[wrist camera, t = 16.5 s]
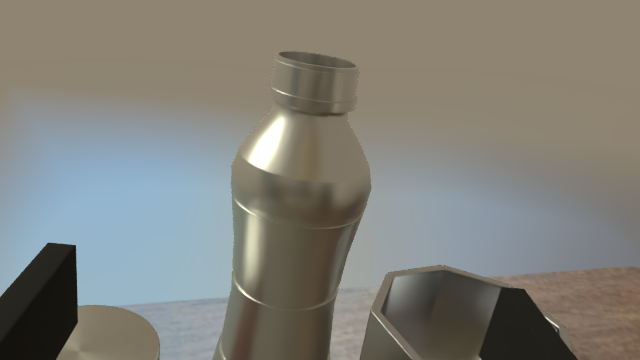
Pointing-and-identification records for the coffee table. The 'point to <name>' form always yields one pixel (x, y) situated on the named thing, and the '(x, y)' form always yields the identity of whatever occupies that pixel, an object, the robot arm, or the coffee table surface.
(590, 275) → the coffee table surface
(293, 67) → the metal bottle
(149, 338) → the tin can
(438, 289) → the saucepan
